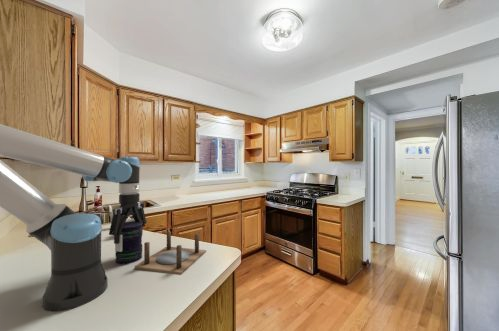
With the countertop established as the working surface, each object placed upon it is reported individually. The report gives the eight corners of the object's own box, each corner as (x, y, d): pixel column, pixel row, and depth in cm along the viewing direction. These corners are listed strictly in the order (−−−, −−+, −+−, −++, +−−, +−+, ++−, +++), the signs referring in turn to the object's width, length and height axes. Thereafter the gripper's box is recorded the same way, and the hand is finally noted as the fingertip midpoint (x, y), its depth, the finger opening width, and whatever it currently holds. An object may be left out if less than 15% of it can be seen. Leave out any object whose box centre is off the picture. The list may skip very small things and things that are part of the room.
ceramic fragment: (109, 229, 129) (109, 213, 129) (108, 228, 132) (108, 212, 132) (128, 225, 136) (128, 210, 136) (127, 224, 139) (127, 210, 139)
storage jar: (117, 267, 80) (117, 229, 80) (113, 259, 87) (113, 223, 87) (145, 260, 86) (145, 224, 87) (139, 252, 94) (139, 219, 94)
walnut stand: (181, 276, 73) (181, 249, 74) (134, 270, 78) (134, 245, 78) (206, 253, 93) (206, 232, 93) (167, 249, 98) (167, 229, 98)
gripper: (113, 197, 75) (113, 258, 75) (155, 190, 97) (155, 237, 97) (97, 196, 77) (96, 256, 77) (141, 190, 99) (141, 236, 99)
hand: (129, 246), depth 87 cm, fingers closed on storage jar, 10 cm apart
